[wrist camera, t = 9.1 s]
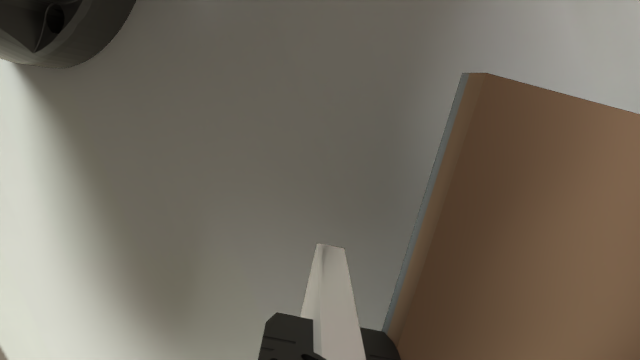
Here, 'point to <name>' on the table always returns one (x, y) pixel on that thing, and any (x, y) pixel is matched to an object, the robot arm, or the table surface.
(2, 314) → the table surface
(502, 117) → the walnut flap
